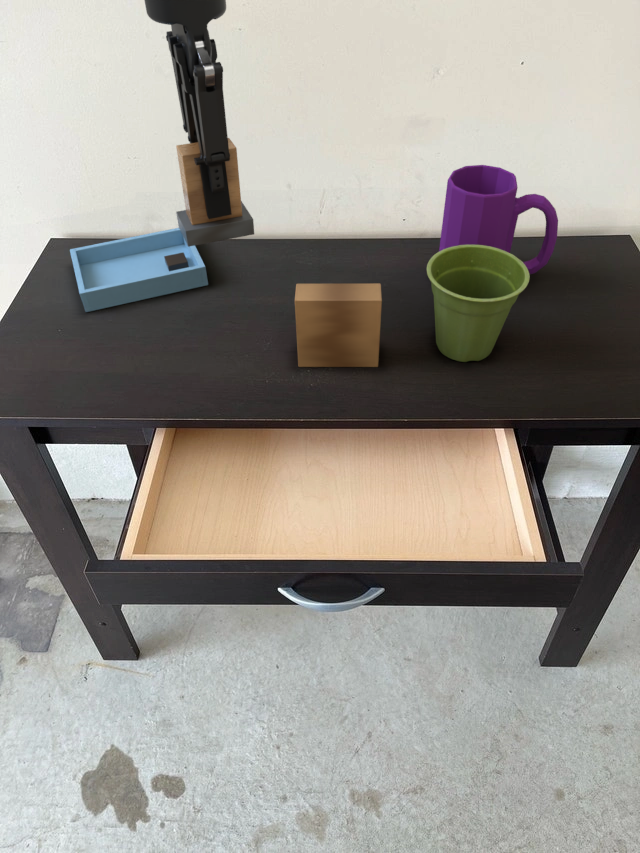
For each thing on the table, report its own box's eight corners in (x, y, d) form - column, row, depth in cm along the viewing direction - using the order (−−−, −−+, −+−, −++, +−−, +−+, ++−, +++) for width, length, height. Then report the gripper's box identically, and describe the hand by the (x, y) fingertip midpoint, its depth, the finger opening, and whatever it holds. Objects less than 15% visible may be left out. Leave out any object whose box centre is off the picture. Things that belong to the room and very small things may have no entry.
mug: (436, 260, 99) (447, 162, 89) (541, 266, 98) (566, 167, 87) (435, 295, 93) (448, 194, 82) (548, 301, 91) (576, 199, 81)
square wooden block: (298, 367, 83) (294, 300, 75) (299, 349, 85) (296, 283, 78) (378, 367, 82) (381, 300, 75) (377, 349, 85) (380, 283, 78)
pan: (85, 312, 92) (79, 293, 90) (75, 267, 100) (69, 249, 98) (208, 285, 96) (205, 266, 94) (188, 244, 104) (185, 226, 102)
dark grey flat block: (169, 271, 98) (168, 266, 97) (165, 261, 100) (163, 256, 99) (189, 267, 98) (187, 261, 98) (184, 257, 100) (183, 252, 100)
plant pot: (411, 368, 82) (419, 291, 74) (426, 313, 90) (434, 239, 82) (508, 383, 80) (527, 306, 72) (514, 325, 88) (531, 250, 80)
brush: (188, 246, 76) (174, 160, 69) (178, 227, 79) (164, 142, 72) (254, 234, 78) (248, 149, 71) (242, 215, 81) (235, 132, 74)
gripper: (245, -20, 55) (267, 233, 72) (199, -54, 66) (227, 174, 83) (157, -10, 54) (200, 248, 70) (124, -46, 64) (168, 185, 81)
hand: (215, 207), depth 77 cm, fingers closed on brush, 3 cm apart
